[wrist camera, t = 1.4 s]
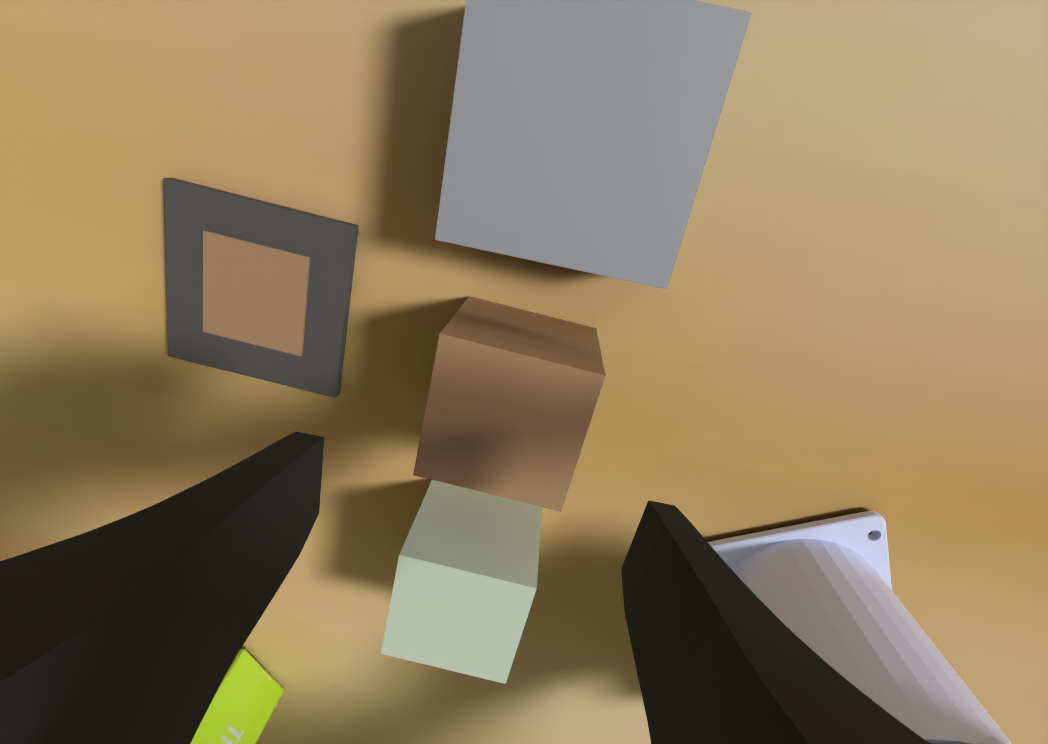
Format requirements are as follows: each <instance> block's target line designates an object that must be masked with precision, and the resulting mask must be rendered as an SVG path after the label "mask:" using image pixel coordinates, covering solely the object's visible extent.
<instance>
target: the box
mask: <svg viewBox="0 0 1048 744" xmlns="http://www.w3.org/2000/svg"><path fill="white" fill-rule="evenodd" d="M283 693H284V688H283V687H282V686H281V684H280V683H279V682H278V681H277V680H276V679H275V678H274V677H273V676H272V675H271V674H270V673H269V672H268V671H267V670H266V669H264V668H263V667H262V666H261V665H260V664H259V663H258V662H257V661H256V660H255V659H254V658H253V657H252V656H251V655H250V654H249V653H248V652H247V650H246V649H241V650H240V651H239V652H238V654H237V656H236V657H235V659H234V661H233V663H232V664H231V666H230V668H229V669H228V671H227V673H226V675H225V676H224V678H223V680H222V682H221V684H220V686H219V688H218V690H217V692H216V694H215V696H214V698H213V700H212V702H211V704H210V706H209V708H208V710H207V712H206V714H205V716H204V718H203V720H202V722H201V723H200V725H199V727H198V729H197V731H196V733H195V735H194V737H193V740H192V742H191V744H256V742H257V740H258V738H259V737H260V735H261V733H262V731H263V729H264V727H265V725H266V724H267V722H268V720H269V718H270V716H271V714H272V713H273V711H274V709H275V707H276V705H277V703H278V702H279V700H280V698H281V696H282V694H283Z"/></svg>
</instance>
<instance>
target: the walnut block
mask: <svg viewBox="0 0 1048 744" xmlns="http://www.w3.org/2000/svg"><path fill="white" fill-rule="evenodd" d="M604 378H605V372H604V367H603V361H602V356H601V351H600V346H599V341H598V336H597V331H596V328H592V327H588V326H584V325H581V324H577V323H573V322H569V321H565V320H561V319H557V318H553V317H549V316H545V315H541V314H537V313H533V312H529V311H525V310H521V309H517V308H514V307H510V306H506V305H502V304H498V303H494V302H490V301H486V300H482V299H478V298H474V297H470V296H469V297H468V298H467V300H466V301H465V302H464V303H463V305H462V306H461V307H460V308H459V310H458V311H457V312H456V313H455V315H454V316H453V317H452V318H451V320H450V321H449V322H448V323H447V325H446V326H445V327H444V328H443V330H442V331H441V332H440V334H439V339H438V344H437V350H436V355H435V361H434V366H433V371H432V377H431V382H430V388H429V393H428V398H427V404H426V409H425V414H424V420H423V425H422V431H421V436H420V441H419V447H418V452H417V458H416V463H415V468H414V474H413V475H415V476H419V477H423V478H427V479H431V480H435V481H439V482H443V483H447V484H451V485H455V486H460V487H464V488H468V489H472V490H476V491H480V492H484V493H488V494H492V495H496V496H500V497H504V498H508V499H512V500H516V501H520V502H524V503H528V504H532V505H536V506H540V507H544V508H548V509H552V510H556V511H560V512H561V510H562V507H563V504H564V501H565V498H566V495H567V492H568V489H569V485H570V482H571V479H572V476H573V473H574V470H575V467H576V464H577V461H578V458H579V455H580V452H581V448H582V445H583V442H584V439H585V436H586V433H587V430H588V427H589V424H590V421H591V418H592V415H593V411H594V408H595V405H596V402H597V399H598V396H599V393H600V390H601V387H602V384H603V381H604Z"/></svg>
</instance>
